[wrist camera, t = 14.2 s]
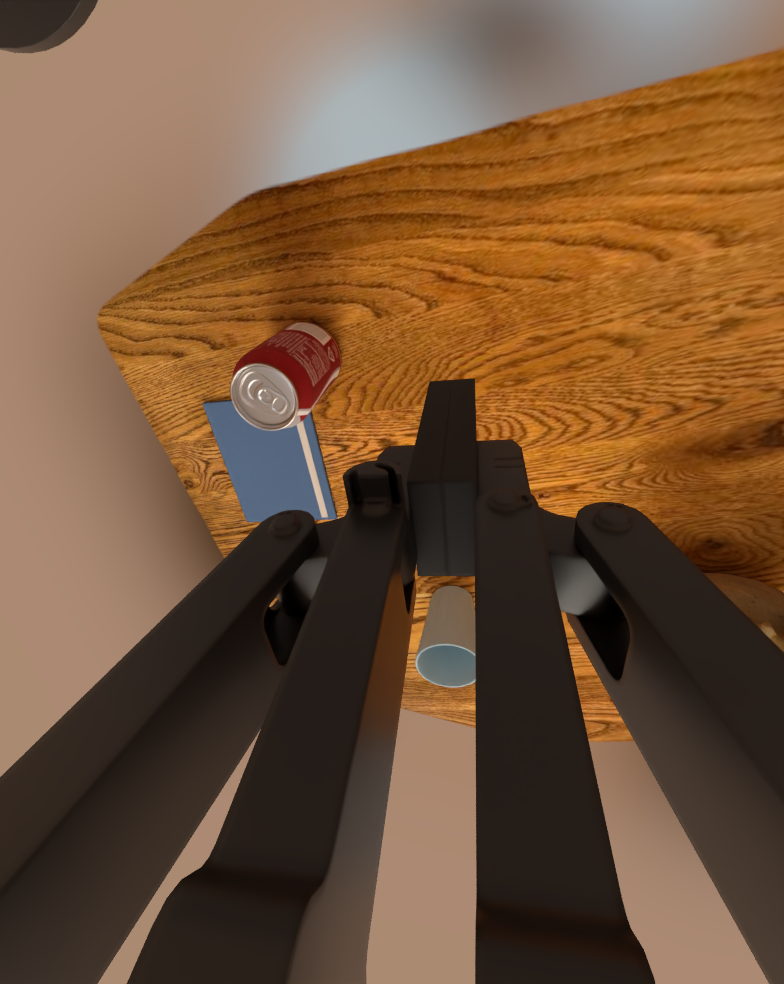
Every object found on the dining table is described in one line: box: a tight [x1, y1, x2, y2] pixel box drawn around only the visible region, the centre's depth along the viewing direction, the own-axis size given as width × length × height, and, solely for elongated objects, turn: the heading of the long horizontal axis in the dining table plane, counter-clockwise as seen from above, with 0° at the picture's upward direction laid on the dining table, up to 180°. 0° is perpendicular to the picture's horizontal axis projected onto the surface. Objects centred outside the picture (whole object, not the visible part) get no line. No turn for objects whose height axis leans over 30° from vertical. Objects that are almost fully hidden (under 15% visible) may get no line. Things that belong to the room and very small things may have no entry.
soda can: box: [230, 322, 341, 431], centre depth 40 cm, size 7×7×12 cm
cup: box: [415, 586, 476, 687], centre depth 56 cm, size 8×8×10 cm
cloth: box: [203, 400, 337, 522], centre depth 53 cm, size 16×12×1 cm
